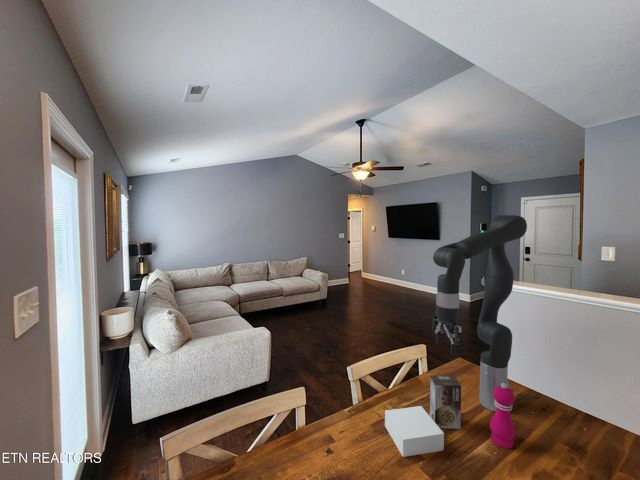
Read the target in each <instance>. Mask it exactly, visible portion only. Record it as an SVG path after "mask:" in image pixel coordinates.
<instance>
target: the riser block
mask: <svg viewBox="0 0 640 480" xmlns="http://www.w3.org/2000/svg"><path fill="white" fill-rule="evenodd" d="M384 427H385V429H386V430H387V432H388V434H389V435H390V437H391V439H392V441H393V442H394V444H395V446H396V447H397V450H398V451H399V453H400V454H401V456H402V458H406V457H411V456H416V455H424V454H428V453H429V454H430V453H435V452H437V453H438V452H442V451H445V450H444V449H445V433H444V432H443V430H442V428H439V427H438V426H437V424H436V423H435V422H434V421H433V420H432V418H431V417H430V414H429V413H427V411H426V410H425V409H424V408H423V406H422V405H418V406H410V407H404V408H401V407H400V408H395V409H388V410H386V409H385V410H384Z"/></svg>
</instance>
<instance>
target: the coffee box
mask: <svg viewBox="0 0 640 480" xmlns="http://www.w3.org/2000/svg"><path fill="white" fill-rule="evenodd" d="M429 377H430V380H429V381H430V383H429V384H430V386H429V387H430V389H429V390H430V391H429V396H430V397H429V399H430V400H429V416H430V417H431V418H432V420H433V421H434V422H435V423H436V424H437V426H438V427H439V428H440V429H452V430H453V429H454V430H461V427H462V425H461V424H462V423H461V421H462V416H461V415H462V413H461V412H462V410H461V409H462V385H461V384H460V382H459V380H458V379H457V377H456V376H455V375H433V374H432V375H430V376H429Z"/></svg>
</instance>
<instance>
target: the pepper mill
mask: <svg viewBox="0 0 640 480" xmlns="http://www.w3.org/2000/svg"><path fill="white" fill-rule="evenodd" d="M493 396H494V398H495V403H494V404H495V406H496V411H494V414H493V416H492V417H491V419H490V421H489V429H490V430H491V432H490V439H491V441H492V442H493V443H494V444H495V445H497V446H498V447H500V448H503V449H511V448H513V446H514V438H515V437H516V428H515V425H514V422H513V421H512V418H511V411H512V410H513V407H514V406H513V404H514V402H515V400H516V399H515V394H514V393H513V391H512V390H511V389H510V387H509V388H507V385H506V384H505V383H502V384H501V386H497V387H496V388H494V390H493Z"/></svg>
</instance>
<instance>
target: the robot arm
mask: <svg viewBox="0 0 640 480" xmlns="http://www.w3.org/2000/svg"><path fill="white" fill-rule="evenodd" d="M527 230H528V223H527V220H526V219H525V217H523V216H520V215H516V214H514V215H512V214H511V215H510V214H509V215H507V214H506V215H505V214H500V215H499V214H498V215H495V216H494V217H492V218H491V221H490V223H489V227H488V230H487V231H486V230H485V231H483V232H478V233H475V234H472V235H469V236H467V237H465V238H464V239H461V240H460V241H459V240H458V241H457V242H453V243H452V242H451V243H449V244H446V245H442V246H440V247H438V248H437V249H436V250H435V251H434V253H433V256H432V259H433V262H434V264H435V265H436V266H438V267H441V268H445V269H447V270H446V272H445V273H444V274H443V273H442V274H440V275H438V276H437V289H436V296H435V297H436V298H435V299H436V300H435V314H433V315H432V322H431V323H432V325H431V330H432V331H434V333H435V344H437V345H438V346H439V345H442V344H443V339H444V338H443V335H444V334H443V333H445V334H446V336H447V338H449V340H450V354H452V355H453V356H455V355H456V356H457V355H458V354H459V345H464V341H465V340H464V327H463V326H462V325H458V324H457V321H458V320H459V319H460V279H461V277H462V275H463V271H464V269H465V265H466V260H469V259H472V258H474V257H475V256H477V255H479V254H481V253H483V252H485V251H488V254H487V255H488V256H487V257H488V258H487V269H486V272H485V273H486V274H485V282H484V292H483V300H482V306H481V309H480V315H479V318H478V323H477V327H476V328H477V329H476V332H477V333H476V334H477V336H478V338H479V340H481V341H482V342H484V343H485V344H487V345H489V346H490V347H489V350H485V351H483V352H481V353H480V370H479V372H480V373H479V374H480V375H479V396H478V397H479V403H480V405H481V406H482V407H484V408H485V409H487V410H489V411H493V412H496V406H495V404H494V403H495V398H494V396H493V390H494V388H496V387H497V386H501V384H502V383H505V384H506V385H507V388H509V389H510V383H509V382H508V373H509V372H508V368H509V361H510V360H511V357H512V356H511V355H512V345H513V333H512V330H511V329H510V328H509V327H508V326H506V325H504V324H501V323H499V322H498V314H499V311H500V308H501V306H502V305H503V304H504V303H505V302H506V300H507V299H508V298H509V297H510V295H511V293H512V291H513V285H514V277H515V274H514V269H513V268H512V266H511V263H510V261H509V259H508V256H507V255H506V252H505V243H506V244H507V243H509V242H513V241H515V240H519V239H520V238H522V237H523V236H525V234H526V232H527Z"/></svg>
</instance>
